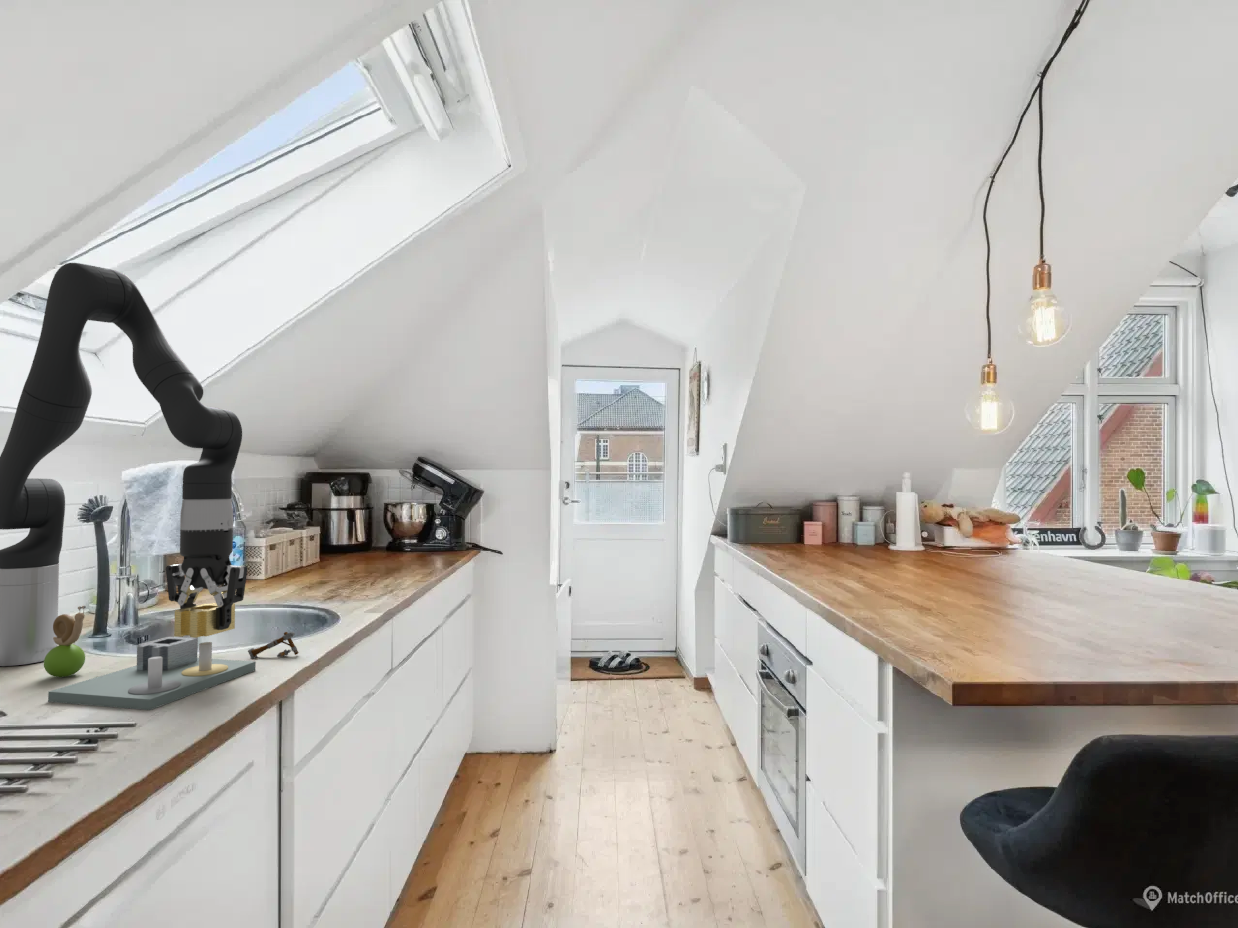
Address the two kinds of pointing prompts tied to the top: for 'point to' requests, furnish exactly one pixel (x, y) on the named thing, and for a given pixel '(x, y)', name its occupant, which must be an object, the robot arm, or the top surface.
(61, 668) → the snail figurine
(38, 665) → the top surface
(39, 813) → the top surface
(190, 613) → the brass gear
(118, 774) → the top surface
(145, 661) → the grey hollow block
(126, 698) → the gear board
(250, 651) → the brown grey angled piece
